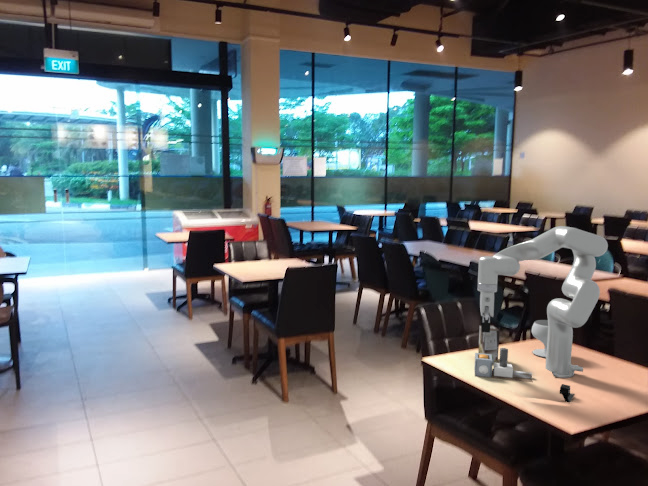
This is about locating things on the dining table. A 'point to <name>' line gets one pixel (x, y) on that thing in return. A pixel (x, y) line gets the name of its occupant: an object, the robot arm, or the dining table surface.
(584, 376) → the dining table surface
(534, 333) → the chalice
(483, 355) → the button
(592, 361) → the dining table surface
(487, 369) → the grey open box
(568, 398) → the black slotted bracket
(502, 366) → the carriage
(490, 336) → the coffee box
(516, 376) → the rail board
